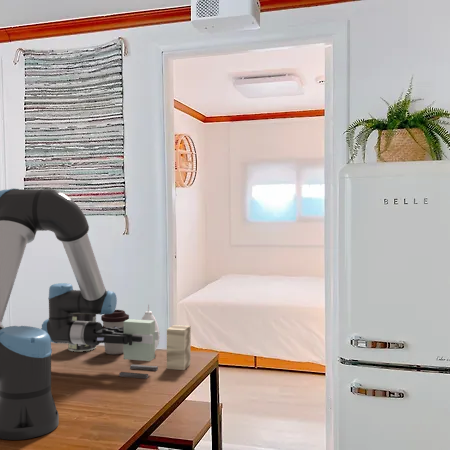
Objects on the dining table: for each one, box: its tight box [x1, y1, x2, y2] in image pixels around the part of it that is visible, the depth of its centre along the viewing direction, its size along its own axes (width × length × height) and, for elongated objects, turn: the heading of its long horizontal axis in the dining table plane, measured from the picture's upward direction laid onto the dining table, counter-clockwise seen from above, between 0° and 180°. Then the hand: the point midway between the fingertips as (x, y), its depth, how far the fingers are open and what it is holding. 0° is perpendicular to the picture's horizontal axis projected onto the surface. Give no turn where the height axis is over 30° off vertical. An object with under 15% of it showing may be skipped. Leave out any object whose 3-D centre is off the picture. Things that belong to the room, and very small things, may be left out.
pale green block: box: [123, 318, 156, 362], centre depth 172 cm, size 4×9×12 cm, turn 77°
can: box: [67, 313, 97, 353], centre depth 202 cm, size 10×10×14 cm
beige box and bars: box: [118, 324, 192, 380], centre depth 175 cm, size 18×18×13 cm
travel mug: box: [100, 309, 130, 355], centre depth 197 cm, size 10×10×15 cm
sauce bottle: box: [140, 303, 161, 351], centre depth 195 cm, size 8×8×18 cm
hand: (155, 337), depth 171 cm, fingers closed on pale green block, 4 cm apart
